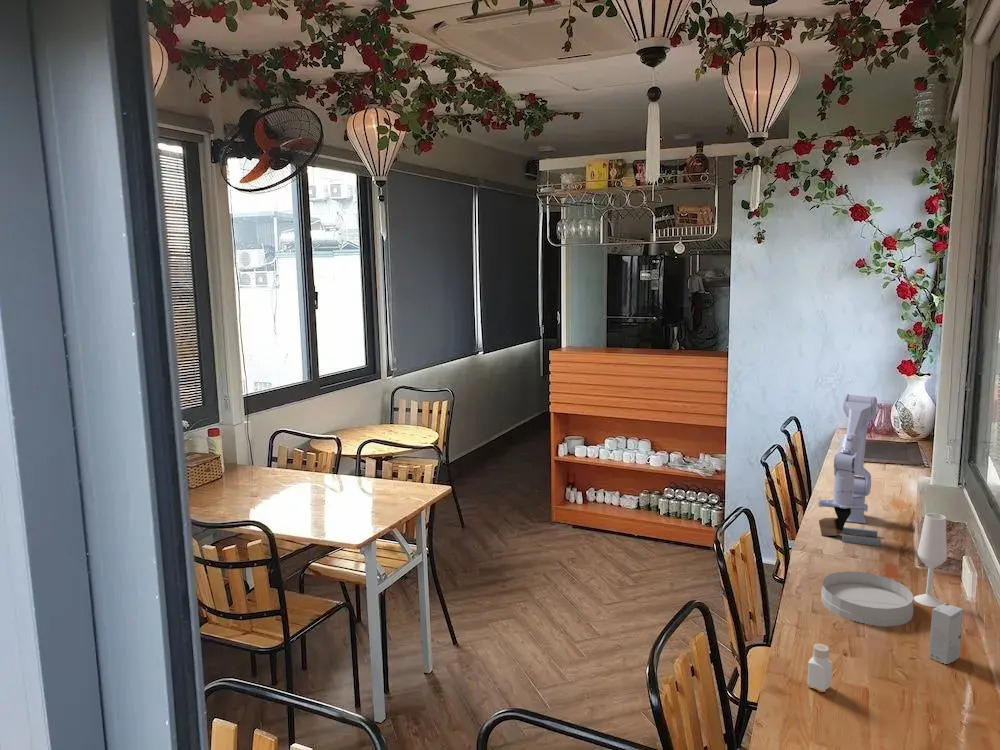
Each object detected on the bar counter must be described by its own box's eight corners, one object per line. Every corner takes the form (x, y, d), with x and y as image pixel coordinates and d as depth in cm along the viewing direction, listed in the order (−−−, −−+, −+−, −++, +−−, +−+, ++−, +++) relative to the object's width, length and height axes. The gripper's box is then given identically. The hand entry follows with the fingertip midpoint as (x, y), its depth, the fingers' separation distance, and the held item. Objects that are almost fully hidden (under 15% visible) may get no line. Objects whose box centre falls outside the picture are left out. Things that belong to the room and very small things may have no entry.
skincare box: (947, 666, 168) (951, 616, 166) (926, 657, 172) (931, 608, 170) (960, 657, 172) (965, 609, 170) (940, 649, 175) (944, 601, 173)
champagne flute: (945, 608, 195) (953, 522, 191) (916, 604, 197) (923, 519, 193) (939, 597, 201) (946, 513, 197) (911, 593, 203) (918, 510, 199)
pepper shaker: (805, 687, 161) (808, 647, 159) (813, 679, 164) (815, 640, 162) (824, 695, 158) (827, 654, 156) (831, 687, 161) (834, 647, 159)
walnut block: (827, 532, 247) (824, 517, 248) (842, 532, 244) (839, 517, 244) (821, 535, 244) (818, 520, 245) (836, 535, 241) (833, 520, 241)
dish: (901, 592, 205) (902, 575, 204) (923, 632, 184) (925, 613, 183) (815, 584, 210) (816, 567, 210) (827, 621, 189) (828, 603, 189)
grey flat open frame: (840, 532, 247) (840, 526, 246) (876, 536, 243) (877, 530, 243) (842, 541, 239) (842, 535, 239) (880, 545, 235) (880, 540, 235)
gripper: (820, 491, 239) (817, 531, 241) (870, 495, 234) (866, 536, 236) (819, 484, 245) (816, 523, 247) (867, 489, 240) (864, 529, 242)
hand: (840, 529), depth 242 cm, fingers closed, pressing on walnut block
